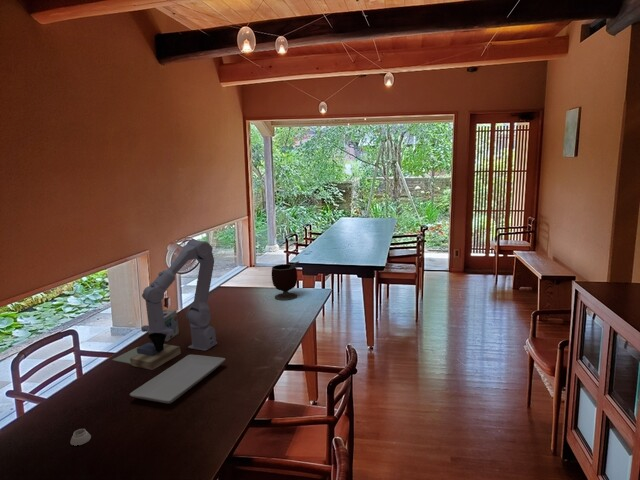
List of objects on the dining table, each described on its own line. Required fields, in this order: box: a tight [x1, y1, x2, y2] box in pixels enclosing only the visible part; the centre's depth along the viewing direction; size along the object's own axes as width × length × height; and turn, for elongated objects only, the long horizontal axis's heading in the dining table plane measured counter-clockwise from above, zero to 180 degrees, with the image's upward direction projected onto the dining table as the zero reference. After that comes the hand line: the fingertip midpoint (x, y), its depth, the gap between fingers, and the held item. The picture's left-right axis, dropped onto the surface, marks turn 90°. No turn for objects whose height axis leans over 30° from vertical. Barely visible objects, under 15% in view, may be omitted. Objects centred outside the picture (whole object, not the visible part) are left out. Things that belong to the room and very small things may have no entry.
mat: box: [111, 346, 139, 365], centre depth 182 cm, size 11×13×1 cm
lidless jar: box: [70, 428, 92, 447], centre depth 126 cm, size 5×3×5 cm
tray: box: [129, 354, 226, 404], centre depth 157 cm, size 17×31×4 cm, turn 158°
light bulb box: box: [163, 309, 180, 343], centre depth 200 cm, size 11×7×11 cm, turn 168°
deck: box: [130, 343, 182, 371], centre depth 177 cm, size 11×15×3 cm
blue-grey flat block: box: [137, 342, 164, 356], centre depth 178 cm, size 8×6×2 cm
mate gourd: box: [271, 260, 300, 302], centre depth 247 cm, size 16×14×20 cm
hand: (159, 350), depth 176 cm, fingers closed
